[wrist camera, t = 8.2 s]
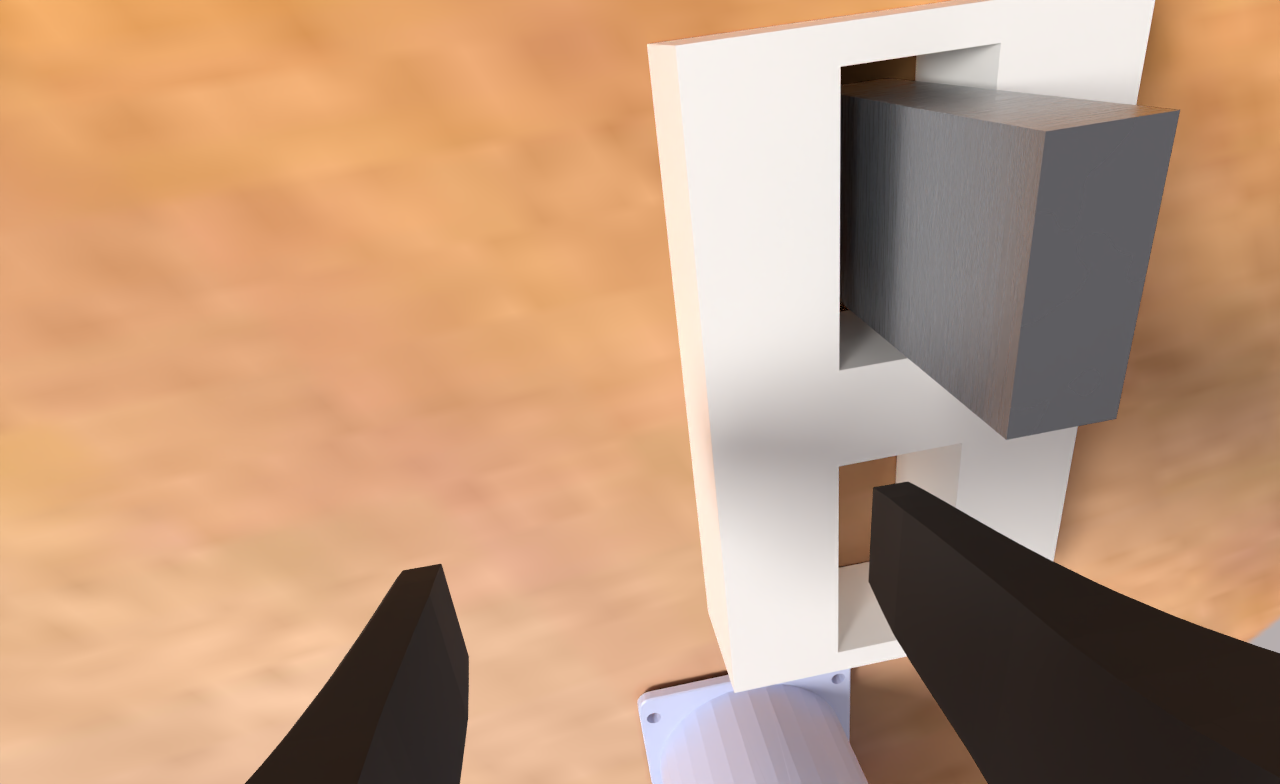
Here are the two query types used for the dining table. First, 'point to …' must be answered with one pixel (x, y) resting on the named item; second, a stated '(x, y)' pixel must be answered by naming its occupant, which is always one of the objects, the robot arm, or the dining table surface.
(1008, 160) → the gray rectangular block
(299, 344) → the dining table surface
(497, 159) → the dining table surface
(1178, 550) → the dining table surface
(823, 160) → the white board with holes
